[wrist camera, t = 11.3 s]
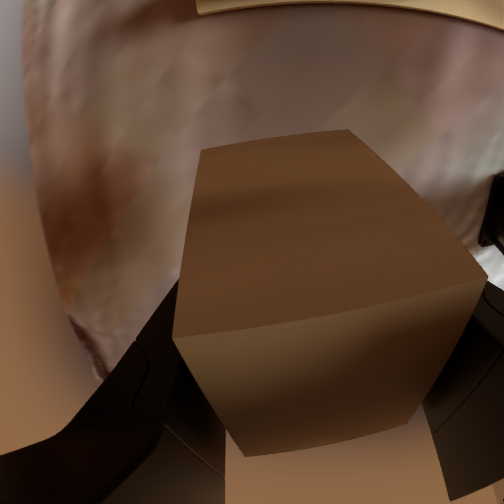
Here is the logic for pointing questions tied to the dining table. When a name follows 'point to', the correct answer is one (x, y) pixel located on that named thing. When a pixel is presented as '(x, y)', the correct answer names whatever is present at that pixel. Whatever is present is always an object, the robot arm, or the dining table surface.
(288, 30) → the dining table surface
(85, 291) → the dining table surface
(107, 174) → the dining table surface
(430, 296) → the block
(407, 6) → the board
